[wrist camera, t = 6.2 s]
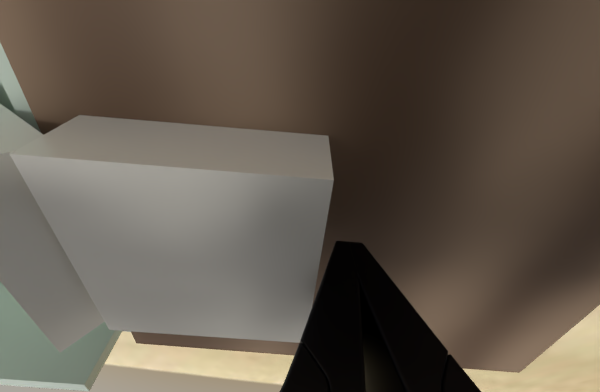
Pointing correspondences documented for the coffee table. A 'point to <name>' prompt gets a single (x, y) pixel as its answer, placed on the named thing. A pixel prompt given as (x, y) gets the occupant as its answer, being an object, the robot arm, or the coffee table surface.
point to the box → (22, 329)
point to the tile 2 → (187, 222)
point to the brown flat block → (375, 135)
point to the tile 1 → (37, 251)
